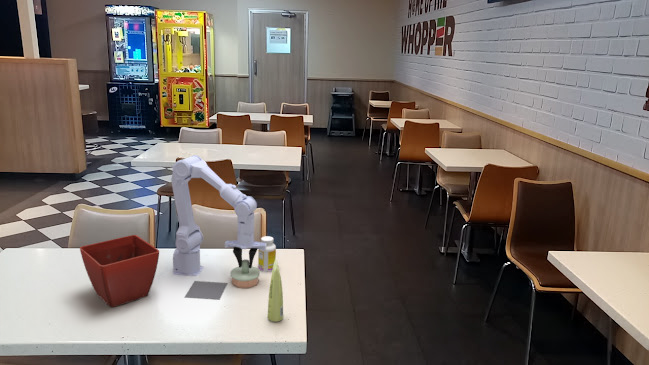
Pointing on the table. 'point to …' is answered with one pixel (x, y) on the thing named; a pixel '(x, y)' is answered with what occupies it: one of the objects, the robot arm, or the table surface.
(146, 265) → the plant pot
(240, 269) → the lid
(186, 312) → the table surface
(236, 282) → the bowl
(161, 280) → the table surface
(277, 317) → the tube
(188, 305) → the table surface
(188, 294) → the mat
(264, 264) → the supplement bottle
